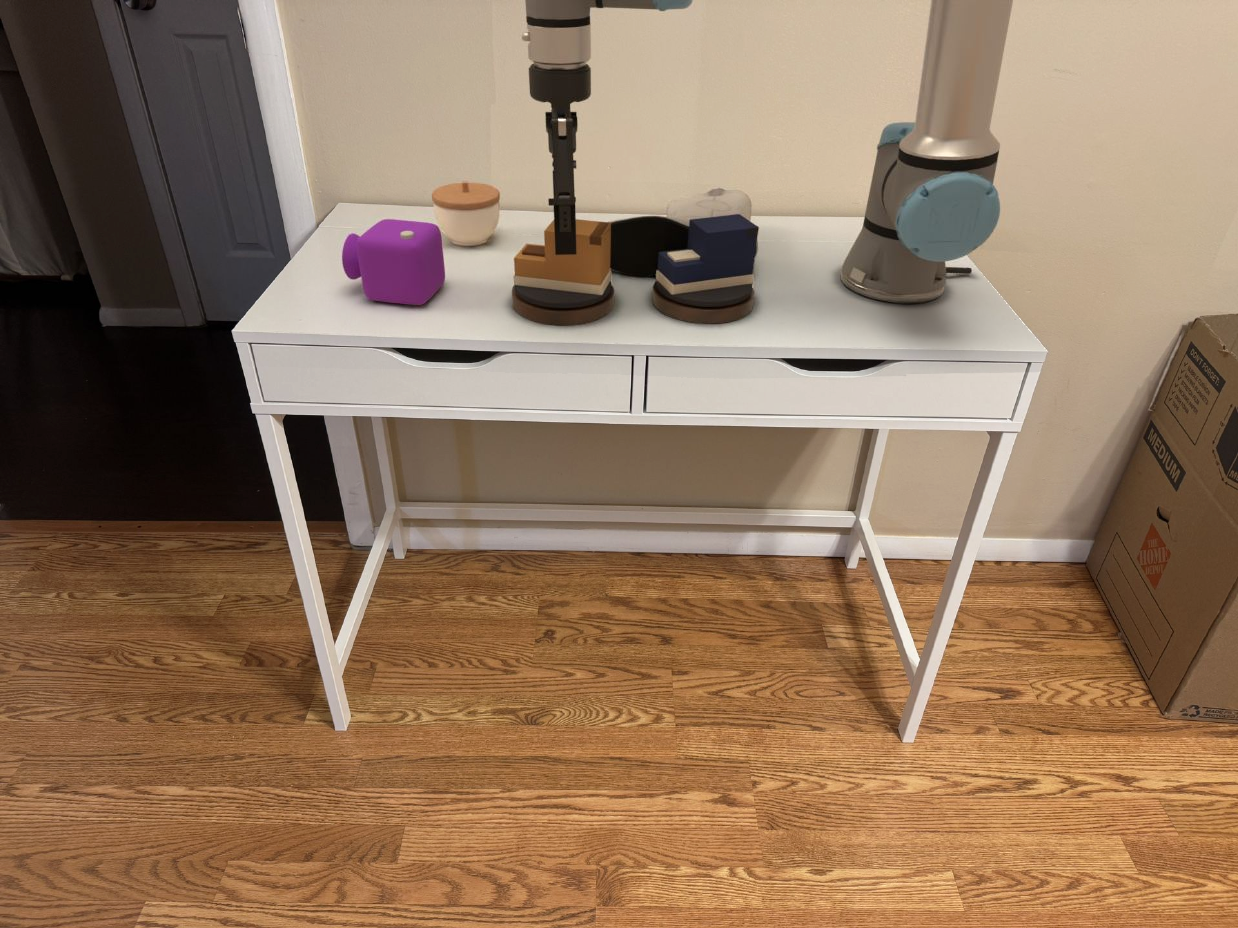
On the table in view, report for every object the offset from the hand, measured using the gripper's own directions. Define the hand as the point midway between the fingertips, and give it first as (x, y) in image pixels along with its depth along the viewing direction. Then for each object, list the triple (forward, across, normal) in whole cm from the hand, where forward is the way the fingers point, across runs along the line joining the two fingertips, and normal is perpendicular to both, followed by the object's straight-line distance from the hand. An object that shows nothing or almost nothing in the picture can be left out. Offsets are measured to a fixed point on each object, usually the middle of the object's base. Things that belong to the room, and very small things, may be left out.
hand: (564, 235), depth 113 cm
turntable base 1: (+10, 0, 0) cm, 10 cm away
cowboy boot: (+10, -20, +17) cm, 29 cm away
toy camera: (+10, -4, -24) cm, 27 cm away
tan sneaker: (+8, 0, 0) cm, 8 cm away
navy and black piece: (+8, 0, +20) cm, 21 cm away
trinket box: (+10, -25, -16) cm, 31 cm away
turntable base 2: (+10, 0, +20) cm, 22 cm away
